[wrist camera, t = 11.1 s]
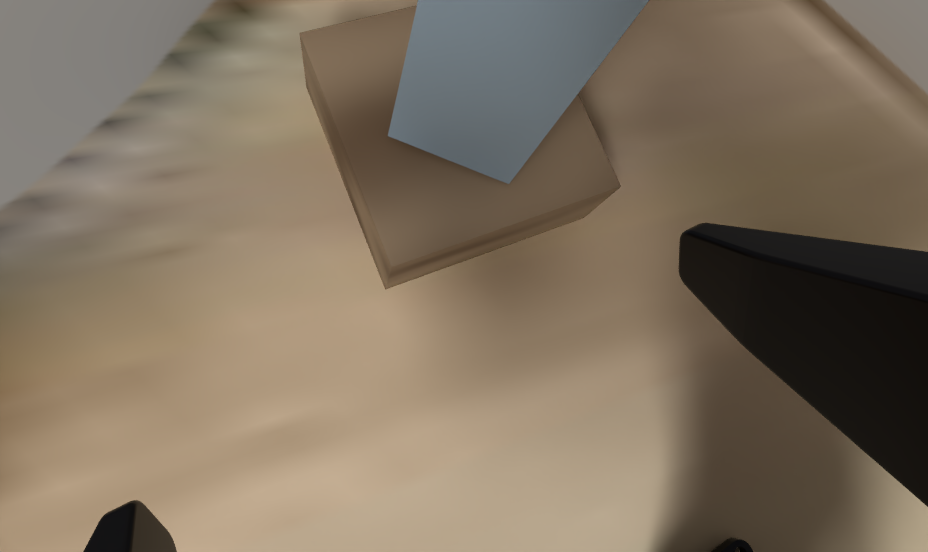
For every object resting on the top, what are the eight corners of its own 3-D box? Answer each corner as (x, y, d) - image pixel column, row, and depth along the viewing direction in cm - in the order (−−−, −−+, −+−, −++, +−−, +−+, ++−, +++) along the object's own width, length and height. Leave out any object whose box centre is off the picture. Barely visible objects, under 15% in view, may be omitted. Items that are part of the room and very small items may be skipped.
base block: (580, 220, 26) (620, 186, 22) (384, 291, 23) (391, 267, 19) (500, 42, 27) (525, -20, 23) (307, 92, 24) (299, 33, 21)
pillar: (541, 81, 22) (735, -228, 12) (508, 184, 21) (696, -63, 10) (428, 33, 21) (528, -337, 11) (387, 135, 20) (457, -178, 10)
